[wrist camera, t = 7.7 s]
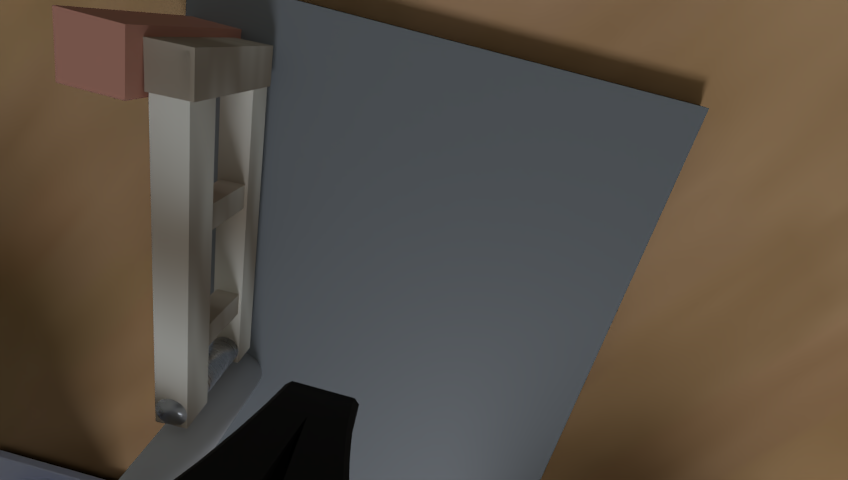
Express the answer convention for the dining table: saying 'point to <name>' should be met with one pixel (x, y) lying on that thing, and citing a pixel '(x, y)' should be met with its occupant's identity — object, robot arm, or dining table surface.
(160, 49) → the gate
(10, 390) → the dining table surface
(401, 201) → the gate frame
